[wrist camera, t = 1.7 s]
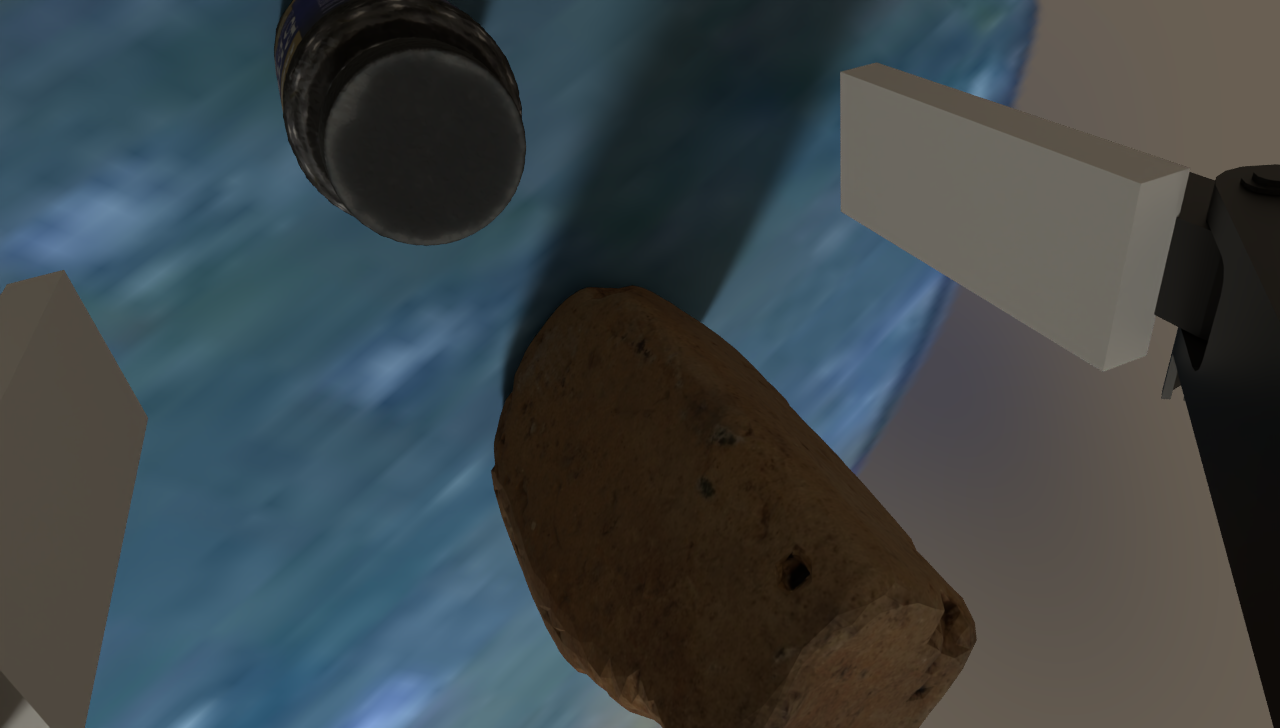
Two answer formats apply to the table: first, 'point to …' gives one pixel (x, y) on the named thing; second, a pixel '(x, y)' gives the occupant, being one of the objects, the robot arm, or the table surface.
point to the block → (709, 535)
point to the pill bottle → (401, 114)
